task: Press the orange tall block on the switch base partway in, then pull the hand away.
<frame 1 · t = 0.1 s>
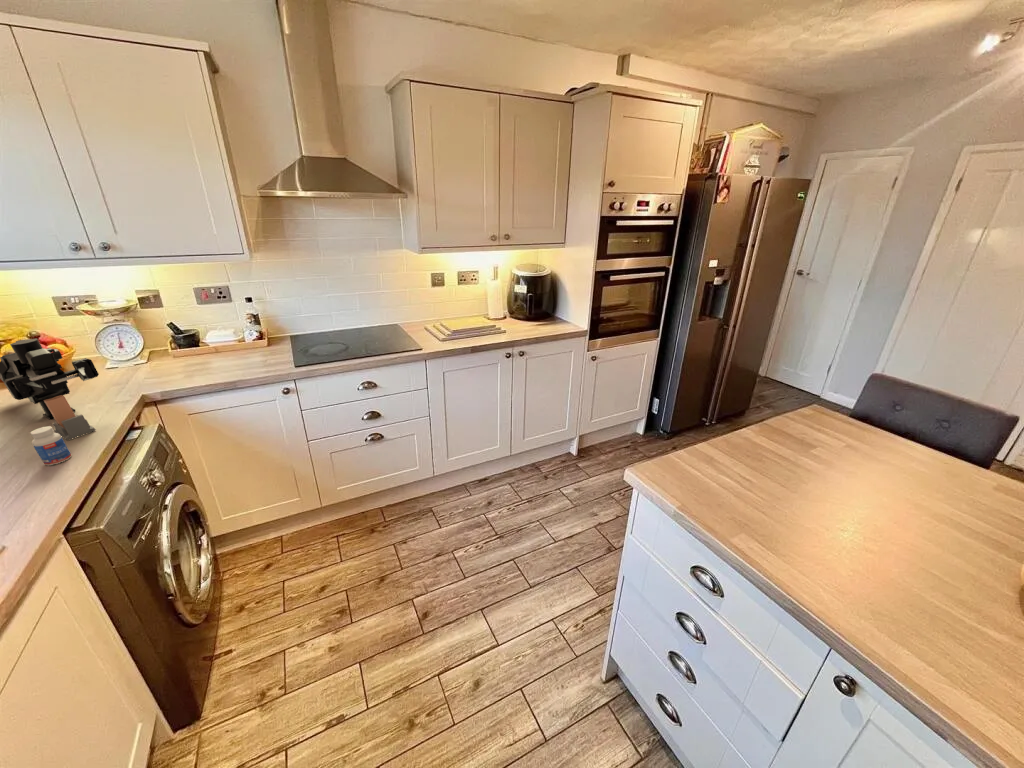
hand: (65, 383, 119), 17 cm above the countertop, tool horizontal, fingers open, 9 cm apart
orange tall block: (62, 412, 125), point 6 cm above the countertop, slide at 0.0 cm
switch base: (75, 431, 127), on the countertop
pill bottle: (59, 460, 113), on the countertop
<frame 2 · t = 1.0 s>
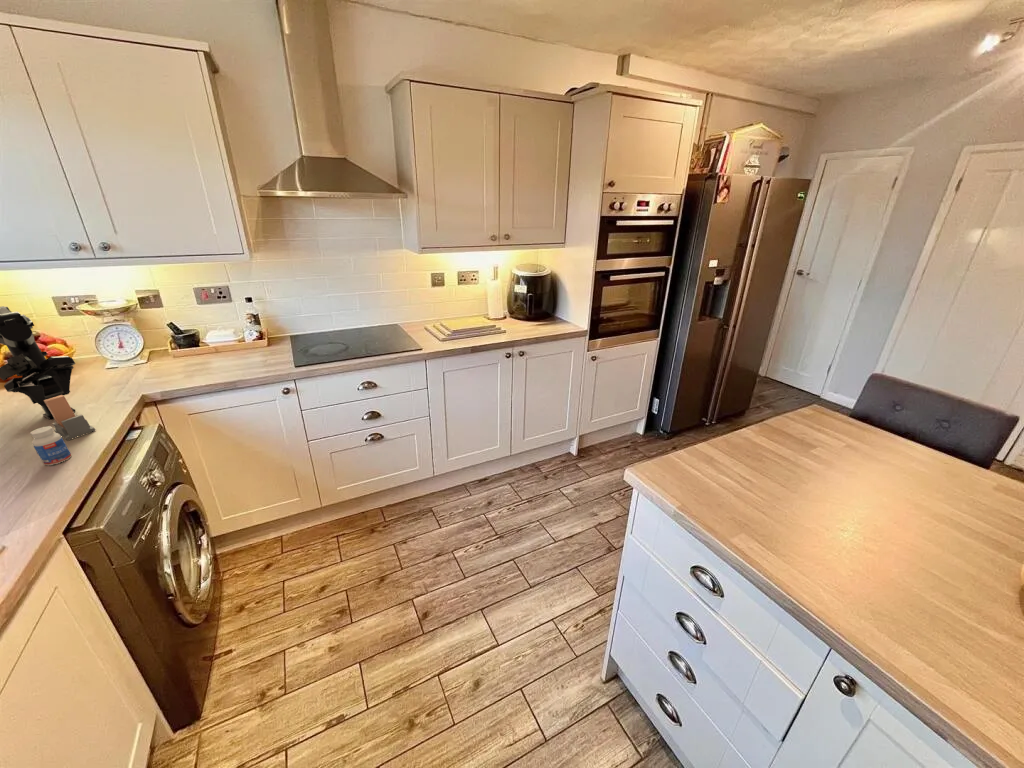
hand: (55, 399, 123), 11 cm above the countertop, tool tilted 30°, fingers open, 9 cm apart
nothing on the countertop moved.
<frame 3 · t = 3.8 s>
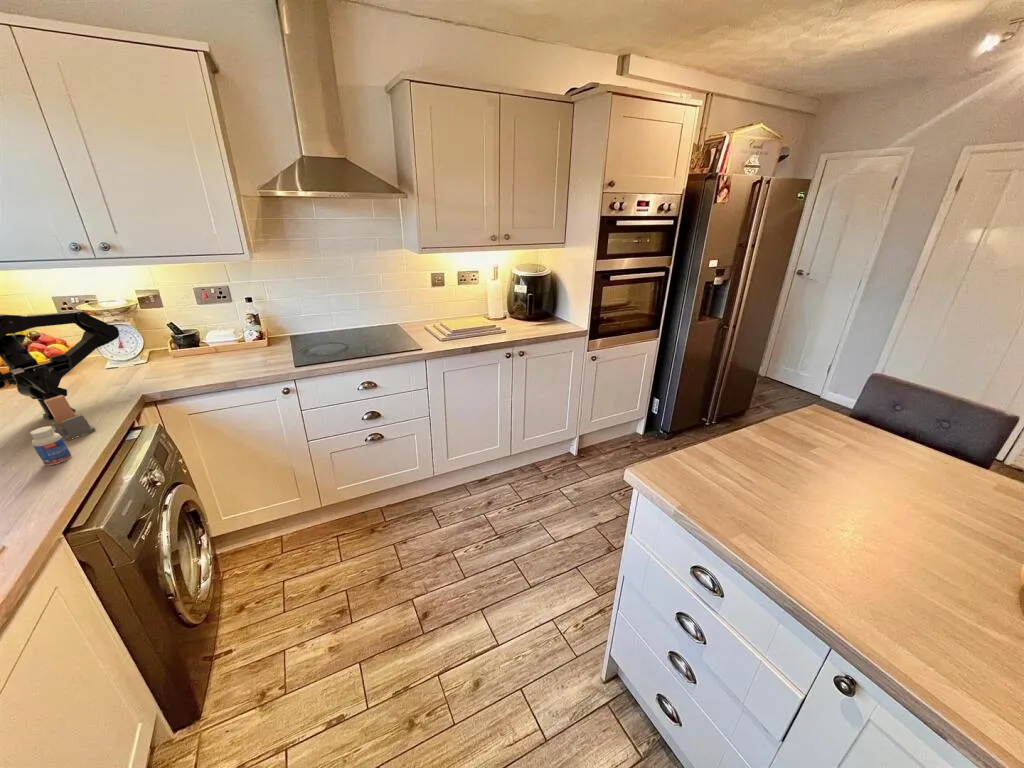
hand: (46, 392, 125), 12 cm above the countertop, tool tilted 45°, fingers closed
nothing on the countertop moved.
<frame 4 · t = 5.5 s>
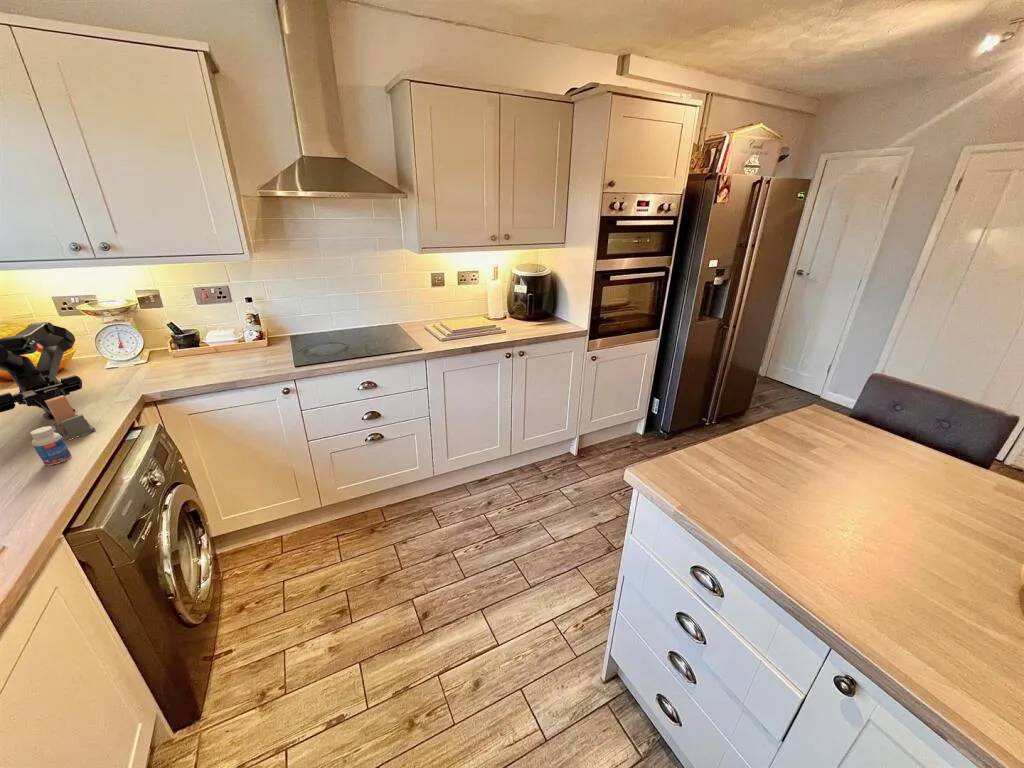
hand: (56, 415, 125), 6 cm above the countertop, tool tilted 40°, fingers closed
orange tall block: (63, 412, 125), point 6 cm above the countertop, slide at 0.7 cm, touching gripper
everything else where it was.
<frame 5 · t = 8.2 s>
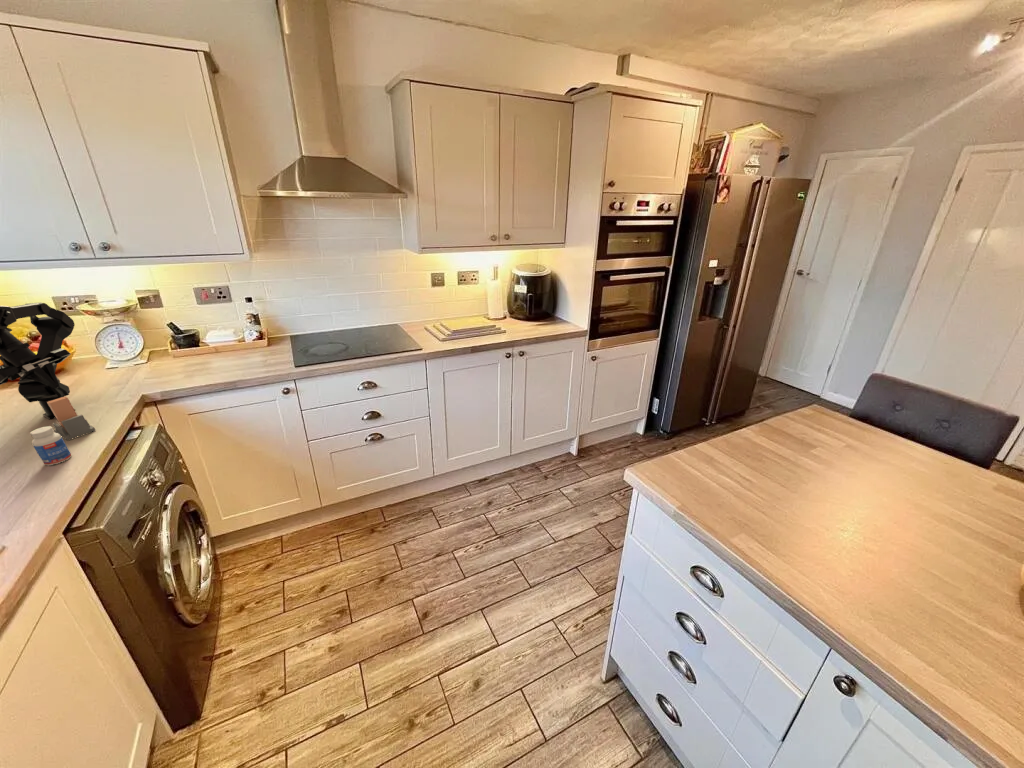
hand: (57, 387, 127), 12 cm above the countertop, tool tilted 30°, fingers closed
orange tall block: (65, 414, 124), point 6 cm above the countertop, slide at 2.4 cm
everything else where it was.
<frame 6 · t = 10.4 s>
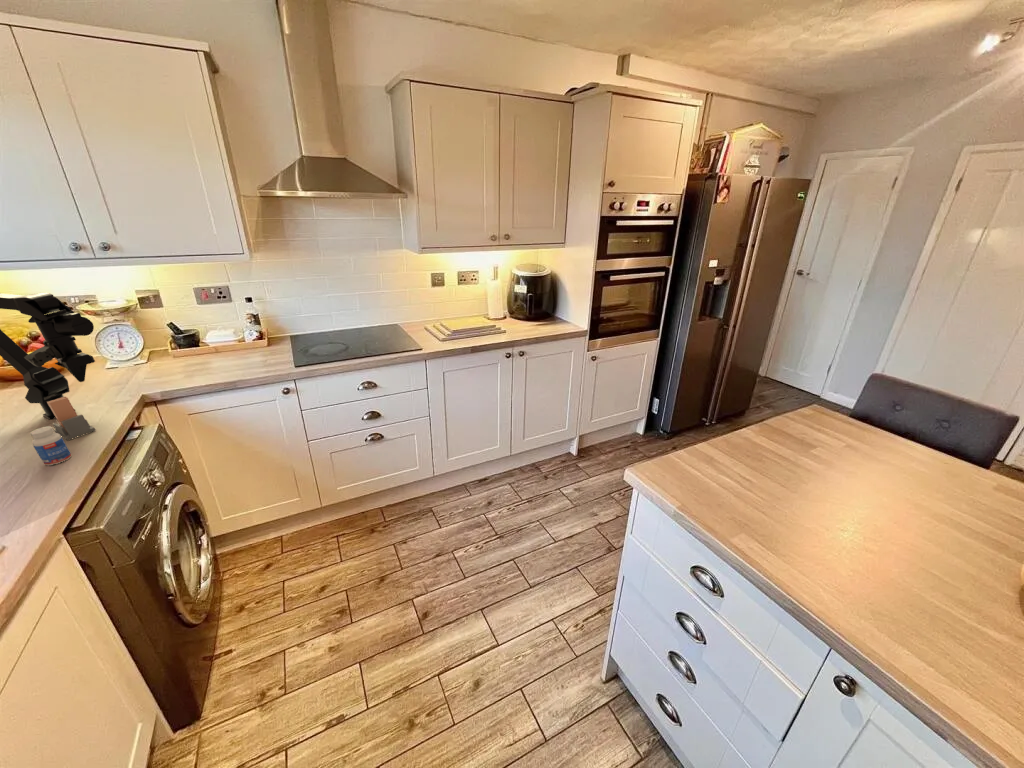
hand: (82, 381, 132), 12 cm above the countertop, tool pointing down, fingers closed
nothing on the countertop moved.
at the end: orange tall block slide at 2.4 cm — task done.
